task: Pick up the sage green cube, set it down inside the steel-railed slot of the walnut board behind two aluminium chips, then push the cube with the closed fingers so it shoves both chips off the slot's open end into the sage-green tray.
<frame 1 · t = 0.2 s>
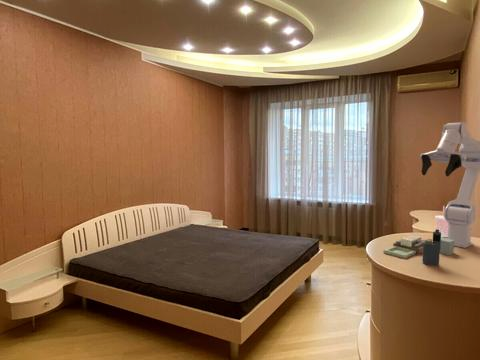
hand: (434, 173, 114), 30 cm above the table, tool tilted 45°, fingers open, 7 cm apart
chip tray: (399, 253, 122), on the table
vaping device: (430, 264, 111), on the table
chip a: (413, 243, 129), point 2 cm above the table, touching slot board
beverage cup: (442, 236, 147), on the table
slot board: (413, 247, 129), on the table
sage green cube: (445, 252, 124), on the table
chip b: (408, 245, 126), point 2 cm above the table, touching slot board
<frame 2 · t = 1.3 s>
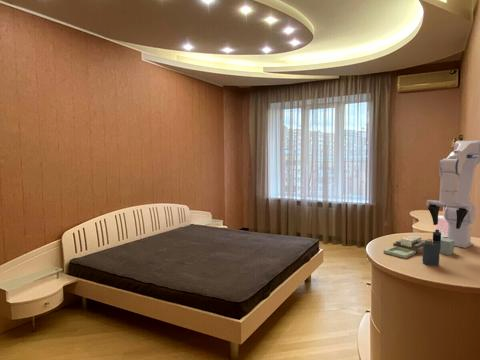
hand: (446, 226, 123), 10 cm above the table, tool pointing down, fingers open, 7 cm apart
nothing on the table moved.
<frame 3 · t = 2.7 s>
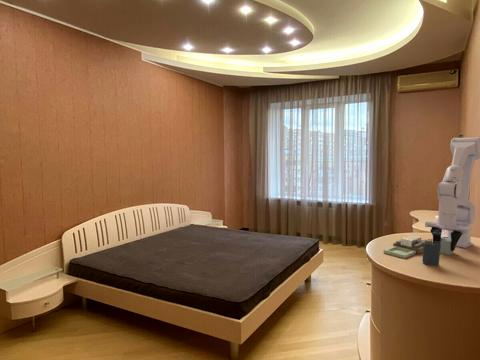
hand: (445, 248, 123), 1 cm above the table, tool pointing down, fingers closed on sage green cube, 4 cm apart
sage green cube: (445, 252, 124), on the table, touching gripper
everything else where it was.
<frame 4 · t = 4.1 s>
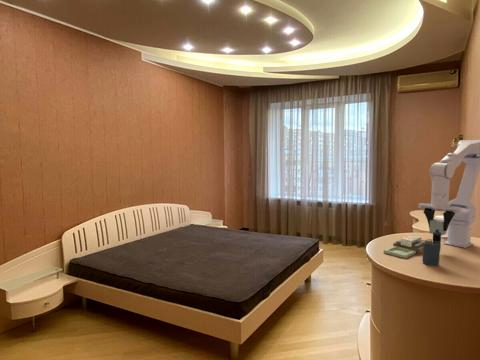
hand: (438, 229, 125), 8 cm above the table, tool pointing down, fingers closed on sage green cube, 4 cm apart
sage green cube: (437, 233, 125), point 7 cm above the table, touching gripper
everything else where it was.
when the fingers open (4 cm above the table, at t = 5.9 s): sage green cube stays where it is, resting on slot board.
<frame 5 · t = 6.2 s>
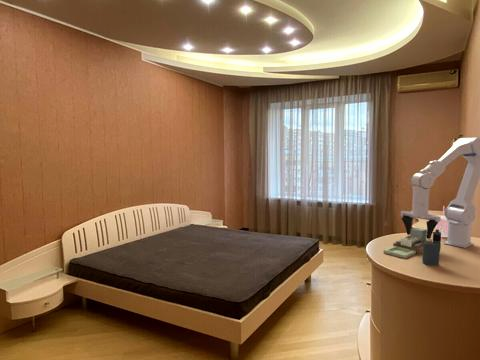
hand: (418, 236, 131), 4 cm above the table, tool pointing down, fingers open, 7 cm apart
sage green cube: (418, 241, 131), point 2 cm above the table, touching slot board
everything else where it was.
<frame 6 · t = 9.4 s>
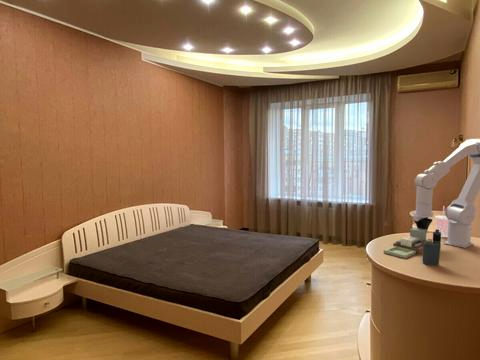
hand: (422, 235, 133), 4 cm above the table, tool pointing down, fingers closed
chip a: (413, 243, 129), point 2 cm above the table, touching sage green cube, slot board
sage green cube: (417, 241, 131), point 2 cm above the table, touching chip a, gripper
everything else where it was.
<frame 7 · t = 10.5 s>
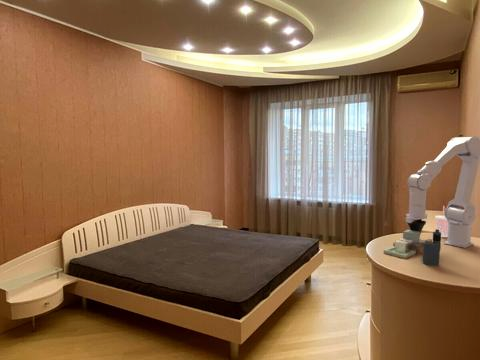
hand: (415, 238, 130), 4 cm above the table, tool pointing down, fingers closed
chip a: (405, 245, 125), point 2 cm above the table, touching sage green cube
sage green cube: (410, 244, 128), point 2 cm above the table, touching chip a, gripper
chip b: (403, 246, 123), point 2 cm above the table, tilted 90°, touching chip tray
everything else where it was.
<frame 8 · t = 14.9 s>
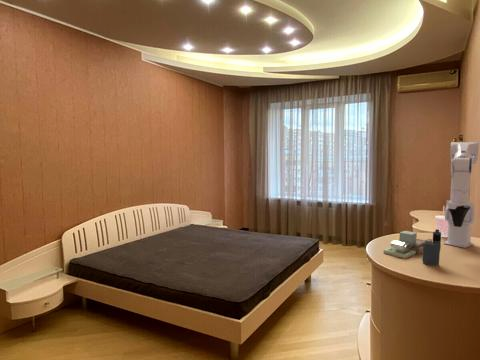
hand: (457, 226, 121), 10 cm above the table, tool pointing down, fingers closed
chip a: (402, 249, 123), point 1 cm above the table, tilted 13°, touching chip b, chip tray
sage green cube: (407, 245, 126), point 2 cm above the table, touching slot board
chip b: (399, 246, 122), point 3 cm above the table, tilted 103°, touching chip a, chip tray
everything else where it was.
at the end: chip a inside the target area (2.5 cm from its centre), point 0.9 cm above the table; chip b inside the target area (0.1 cm from its centre), point 2.8 cm above the table; sage green cube inside the target area (1.8 cm from its centre), point 2.0 cm above the table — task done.
